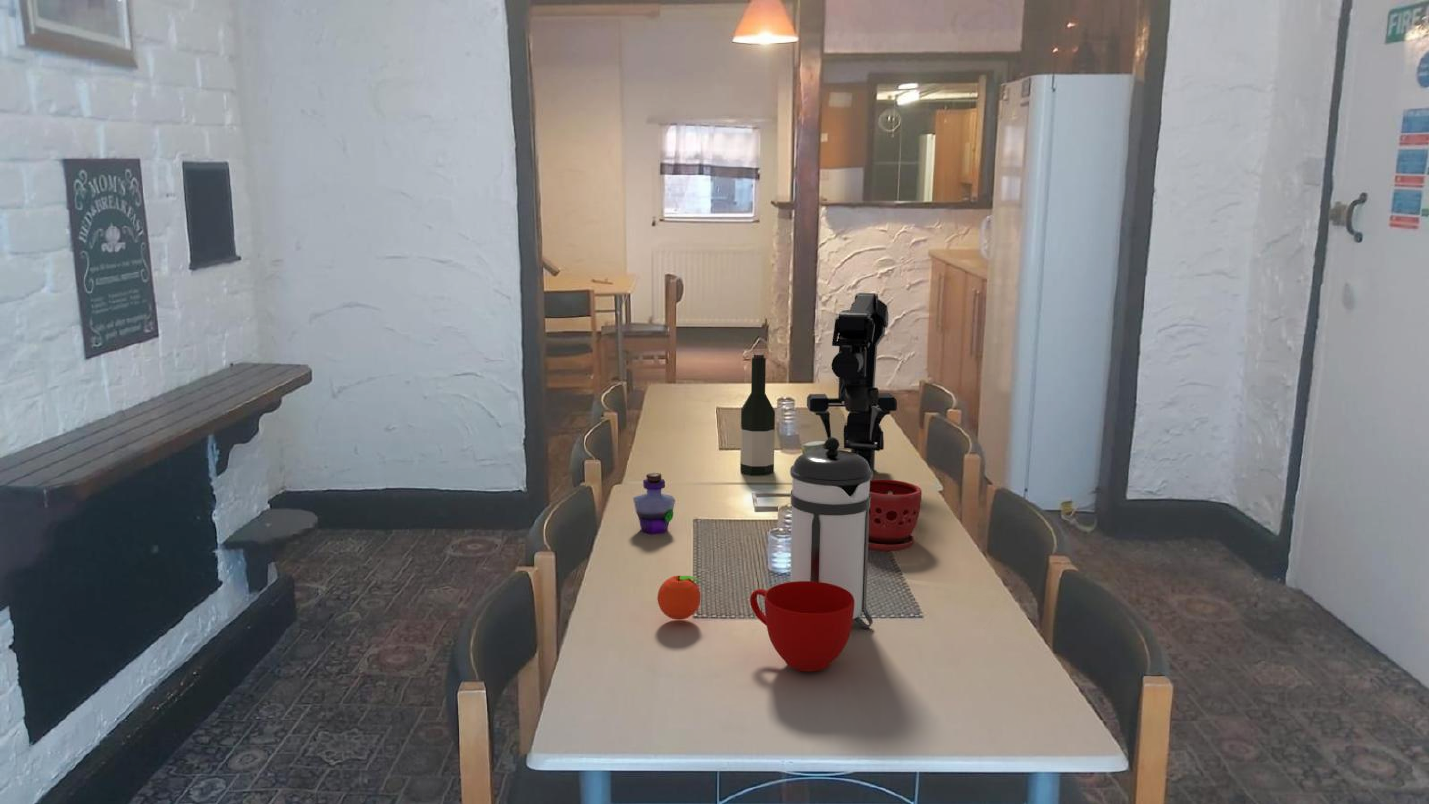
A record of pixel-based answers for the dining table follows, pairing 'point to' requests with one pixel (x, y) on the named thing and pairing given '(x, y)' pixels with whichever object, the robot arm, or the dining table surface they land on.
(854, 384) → the robot arm
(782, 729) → the dining table surface
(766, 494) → the board
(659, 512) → the potion bottle
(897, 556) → the dining table surface
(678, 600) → the clementine
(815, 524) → the coffee press
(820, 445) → the beverage can
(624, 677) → the dining table surface
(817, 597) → the ceramic cup
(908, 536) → the plant pot
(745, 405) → the wine bottle
